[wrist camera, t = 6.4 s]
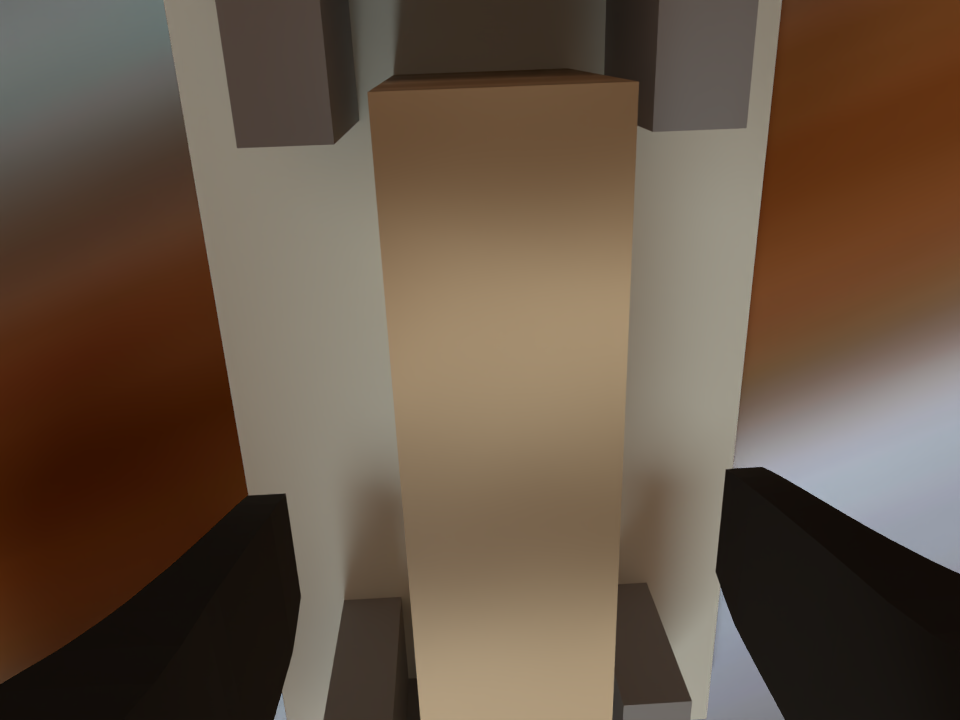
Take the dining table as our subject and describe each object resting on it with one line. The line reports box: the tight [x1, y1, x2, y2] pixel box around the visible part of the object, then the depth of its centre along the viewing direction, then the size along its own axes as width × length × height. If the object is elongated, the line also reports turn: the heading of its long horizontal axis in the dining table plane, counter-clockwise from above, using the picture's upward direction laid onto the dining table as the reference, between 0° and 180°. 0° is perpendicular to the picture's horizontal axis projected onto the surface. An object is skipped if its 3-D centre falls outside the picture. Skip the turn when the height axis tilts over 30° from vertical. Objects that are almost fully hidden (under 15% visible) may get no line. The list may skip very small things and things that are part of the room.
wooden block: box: [367, 68, 639, 720], centre depth 15 cm, size 14×4×6 cm, turn 2°
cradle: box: [164, 0, 782, 720], centre depth 17 cm, size 22×12×5 cm, turn 2°
